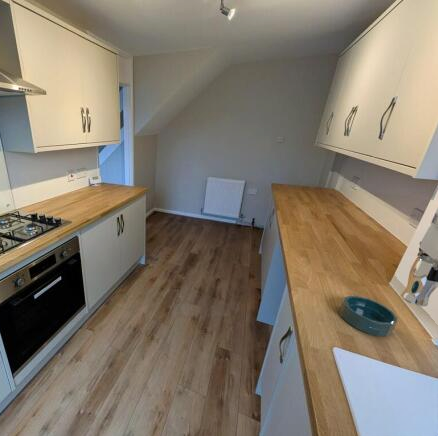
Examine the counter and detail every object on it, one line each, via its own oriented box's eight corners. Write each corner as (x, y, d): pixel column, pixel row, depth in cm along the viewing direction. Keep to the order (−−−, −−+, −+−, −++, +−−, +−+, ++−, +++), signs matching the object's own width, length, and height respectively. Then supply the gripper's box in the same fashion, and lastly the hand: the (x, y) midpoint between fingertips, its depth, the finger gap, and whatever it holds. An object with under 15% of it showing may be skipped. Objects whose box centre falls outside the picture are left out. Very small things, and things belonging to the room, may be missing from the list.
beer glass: (400, 290, 83) (417, 253, 78) (429, 301, 78) (450, 261, 73) (397, 299, 79) (415, 259, 74) (428, 310, 74) (450, 269, 69)
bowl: (381, 315, 85) (386, 302, 84) (399, 343, 74) (405, 329, 72) (335, 303, 91) (339, 291, 89) (345, 328, 79) (350, 315, 77)
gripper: (495, 235, 60) (462, 293, 66) (450, 215, 75) (426, 264, 81) (453, 230, 63) (425, 286, 69) (418, 212, 78) (397, 259, 84)
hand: (426, 274), depth 75 cm, fingers closed on beer glass, 7 cm apart
